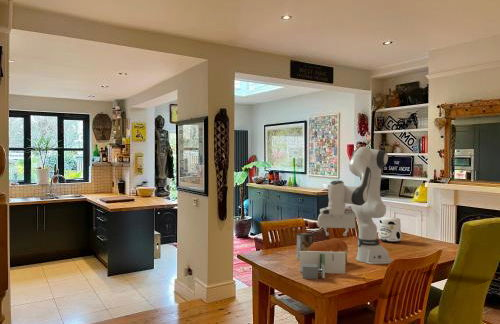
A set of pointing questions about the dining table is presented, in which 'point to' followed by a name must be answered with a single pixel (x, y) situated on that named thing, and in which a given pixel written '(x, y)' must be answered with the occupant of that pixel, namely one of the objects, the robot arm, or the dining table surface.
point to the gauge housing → (331, 261)
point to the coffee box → (303, 242)
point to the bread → (330, 246)
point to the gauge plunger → (321, 267)
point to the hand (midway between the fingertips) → (336, 235)
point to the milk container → (390, 229)
